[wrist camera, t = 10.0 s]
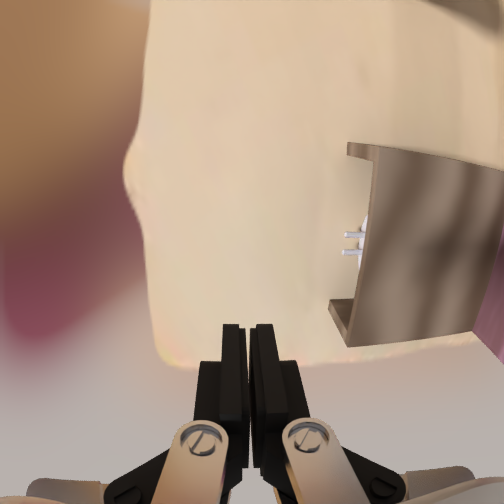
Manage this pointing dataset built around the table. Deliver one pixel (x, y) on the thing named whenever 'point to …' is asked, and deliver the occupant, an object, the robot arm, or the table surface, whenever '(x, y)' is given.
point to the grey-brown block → (427, 252)
